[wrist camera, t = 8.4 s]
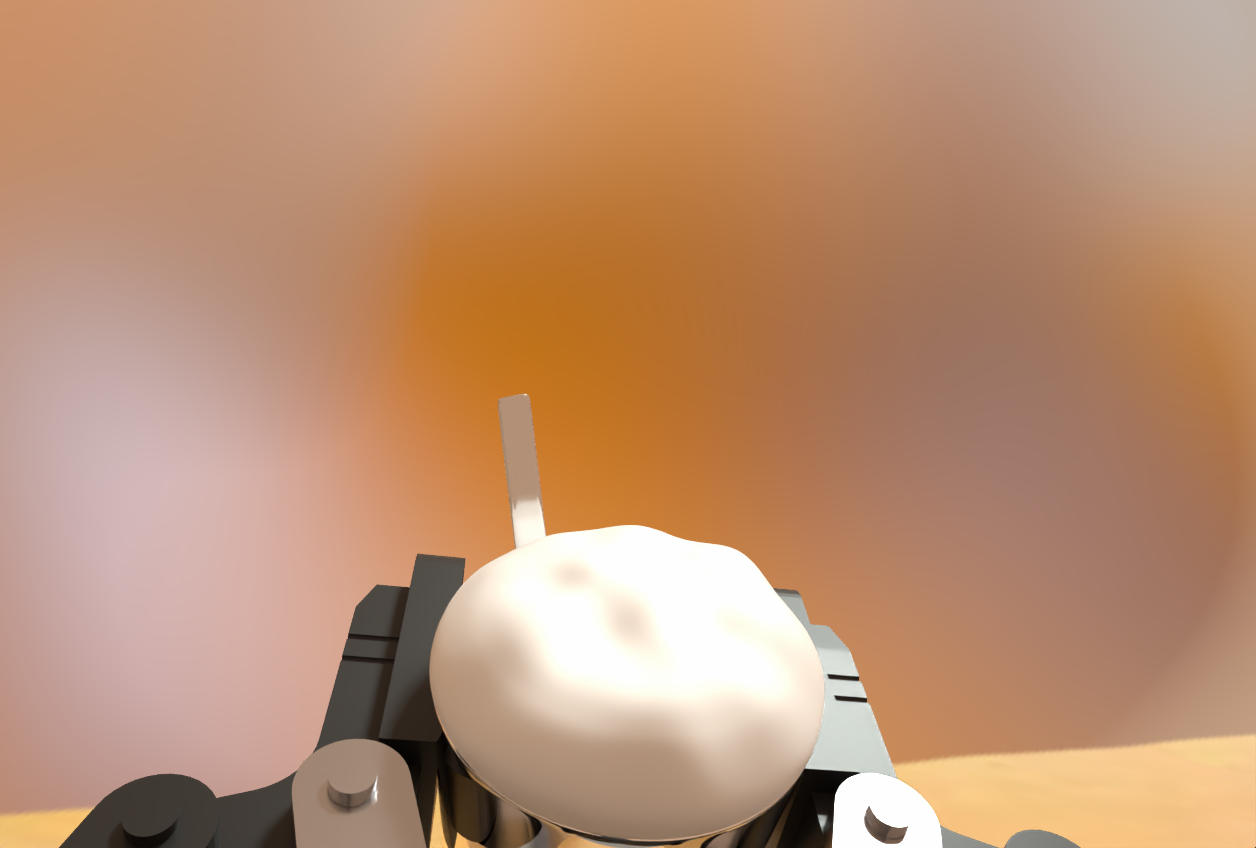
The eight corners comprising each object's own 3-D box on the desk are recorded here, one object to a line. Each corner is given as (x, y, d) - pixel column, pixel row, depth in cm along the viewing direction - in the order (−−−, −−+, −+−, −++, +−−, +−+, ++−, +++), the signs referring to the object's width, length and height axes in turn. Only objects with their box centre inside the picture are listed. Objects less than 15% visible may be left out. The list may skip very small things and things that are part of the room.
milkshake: (573, 836, 18) (654, 369, 14) (758, 1101, 15) (957, 590, 10) (341, 951, 16) (340, 425, 11) (496, 1304, 12) (595, 749, 7)
